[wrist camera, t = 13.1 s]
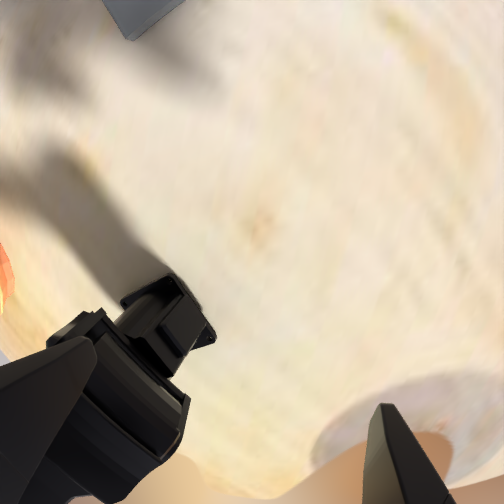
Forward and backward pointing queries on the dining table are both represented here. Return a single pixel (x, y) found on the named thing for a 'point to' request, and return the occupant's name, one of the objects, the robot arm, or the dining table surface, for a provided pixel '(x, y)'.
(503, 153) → the dining table surface
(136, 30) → the socket plate
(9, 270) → the potted cactus
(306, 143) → the dining table surface
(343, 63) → the dining table surface
